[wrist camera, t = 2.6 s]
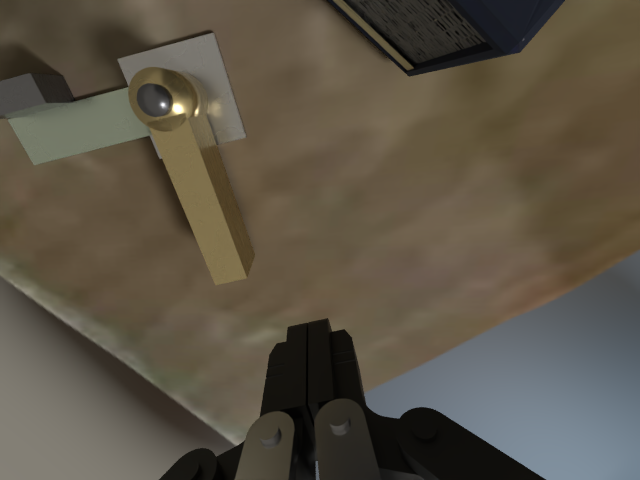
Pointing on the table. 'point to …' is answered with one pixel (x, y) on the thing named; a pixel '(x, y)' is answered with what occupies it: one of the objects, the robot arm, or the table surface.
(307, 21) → the table surface
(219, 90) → the base
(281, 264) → the table surface
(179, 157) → the latch bar
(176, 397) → the table surface
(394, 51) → the speaker
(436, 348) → the table surface
